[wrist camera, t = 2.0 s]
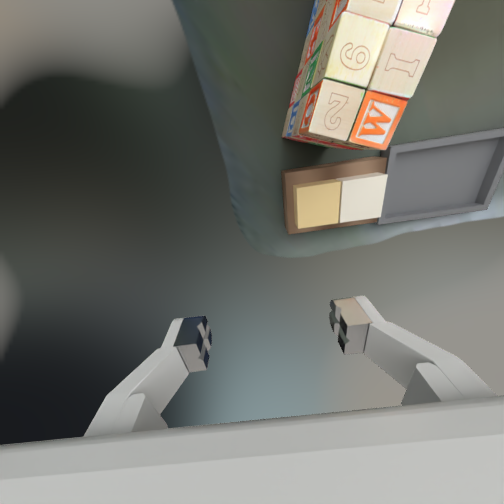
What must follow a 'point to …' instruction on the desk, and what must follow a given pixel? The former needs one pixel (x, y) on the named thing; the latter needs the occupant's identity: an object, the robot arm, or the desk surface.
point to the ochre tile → (316, 203)
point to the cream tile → (361, 196)
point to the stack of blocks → (361, 70)
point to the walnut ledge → (322, 174)
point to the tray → (442, 175)
